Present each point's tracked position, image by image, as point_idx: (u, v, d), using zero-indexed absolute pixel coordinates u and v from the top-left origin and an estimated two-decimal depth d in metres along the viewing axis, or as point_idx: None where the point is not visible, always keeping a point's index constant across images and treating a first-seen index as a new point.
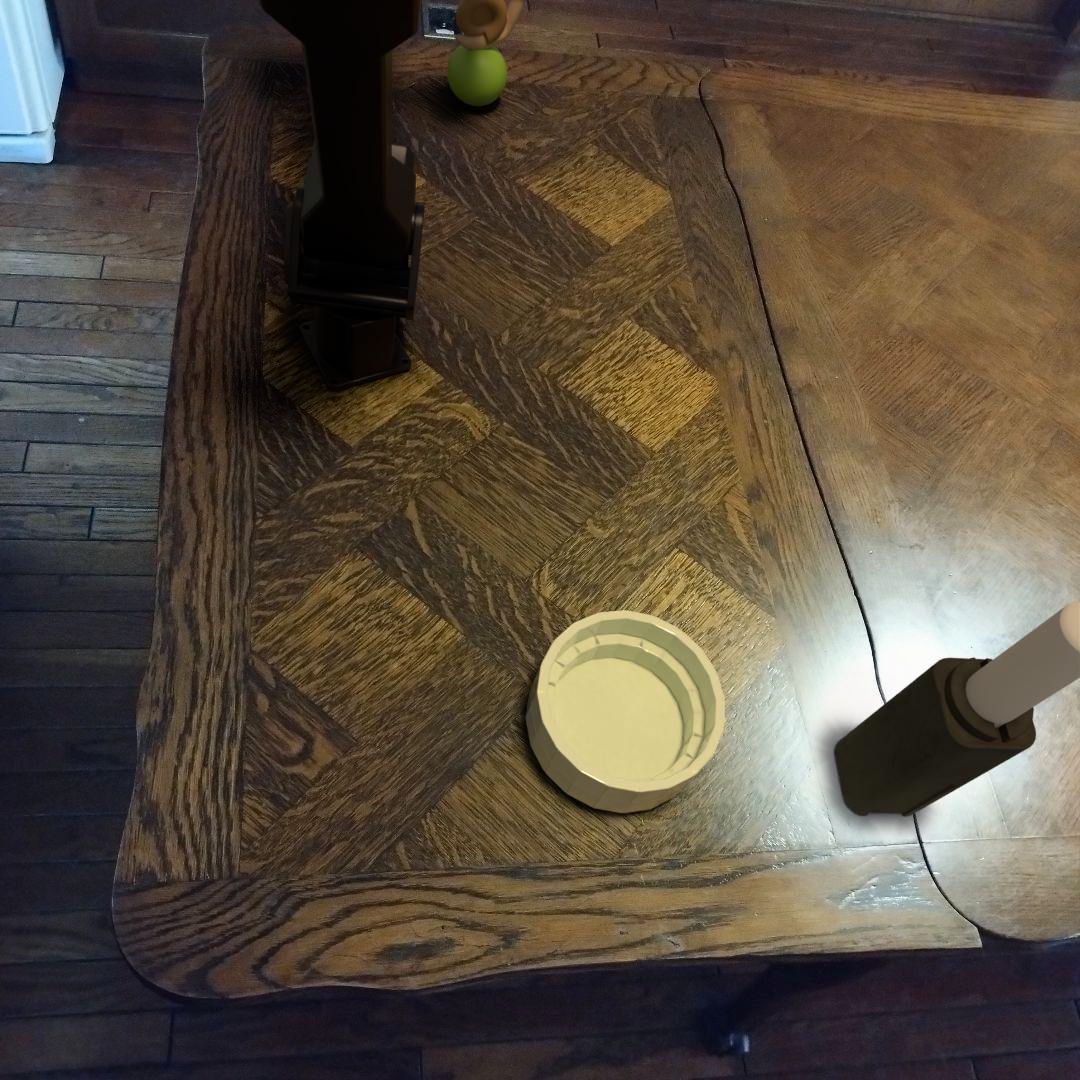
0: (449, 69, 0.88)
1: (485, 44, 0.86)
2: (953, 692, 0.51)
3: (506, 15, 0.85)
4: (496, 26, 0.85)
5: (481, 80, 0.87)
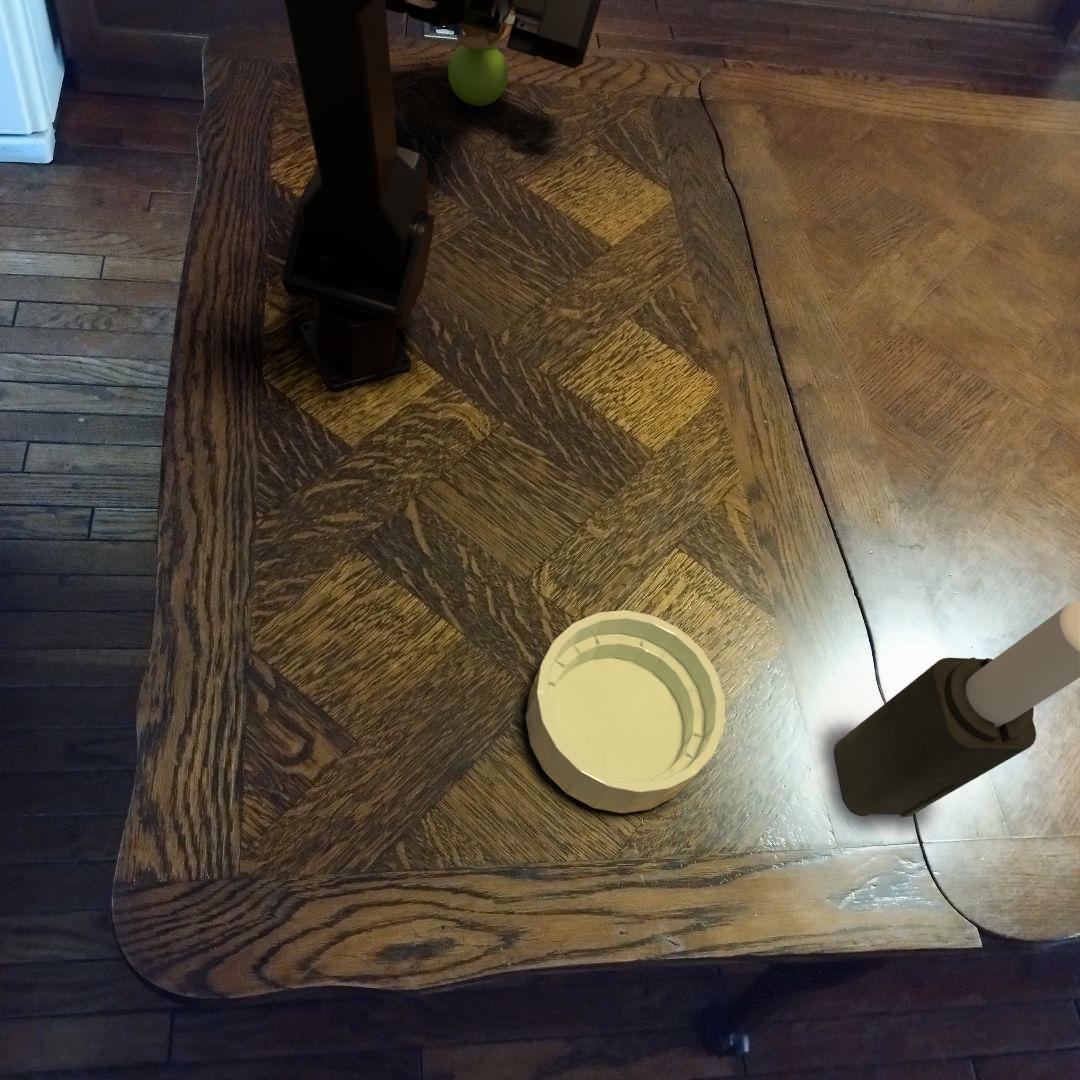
0: (450, 69, 0.88)
1: (487, 44, 0.86)
2: (953, 692, 0.51)
3: None
4: None
5: (483, 80, 0.87)
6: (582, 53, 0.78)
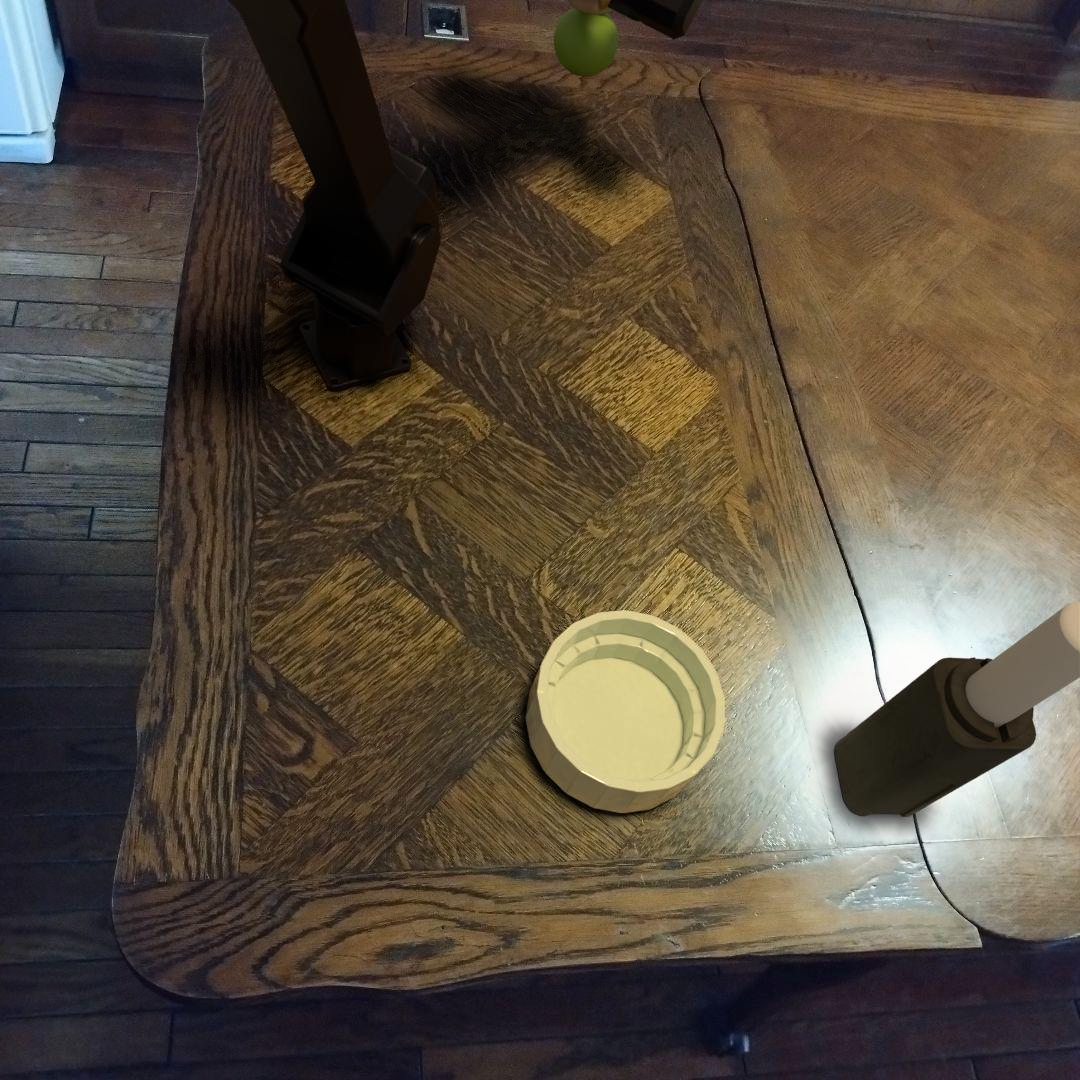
0: (556, 31, 0.82)
1: (597, 8, 0.80)
2: (953, 692, 0.51)
3: None
4: None
5: (586, 46, 0.81)
6: (682, 21, 0.71)
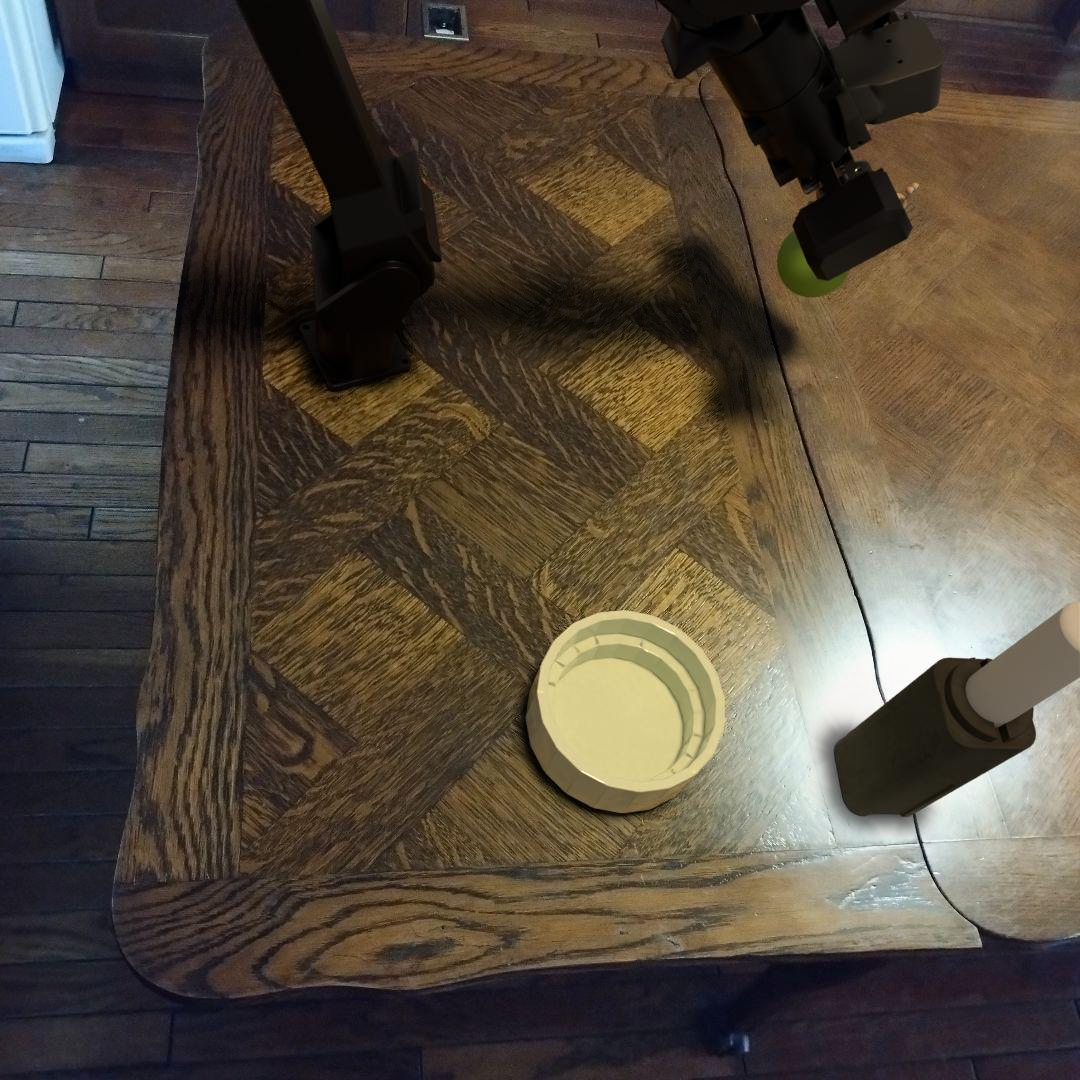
0: None
1: None
2: (953, 692, 0.51)
3: None
4: None
5: (795, 258, 0.72)
6: (820, 260, 0.60)
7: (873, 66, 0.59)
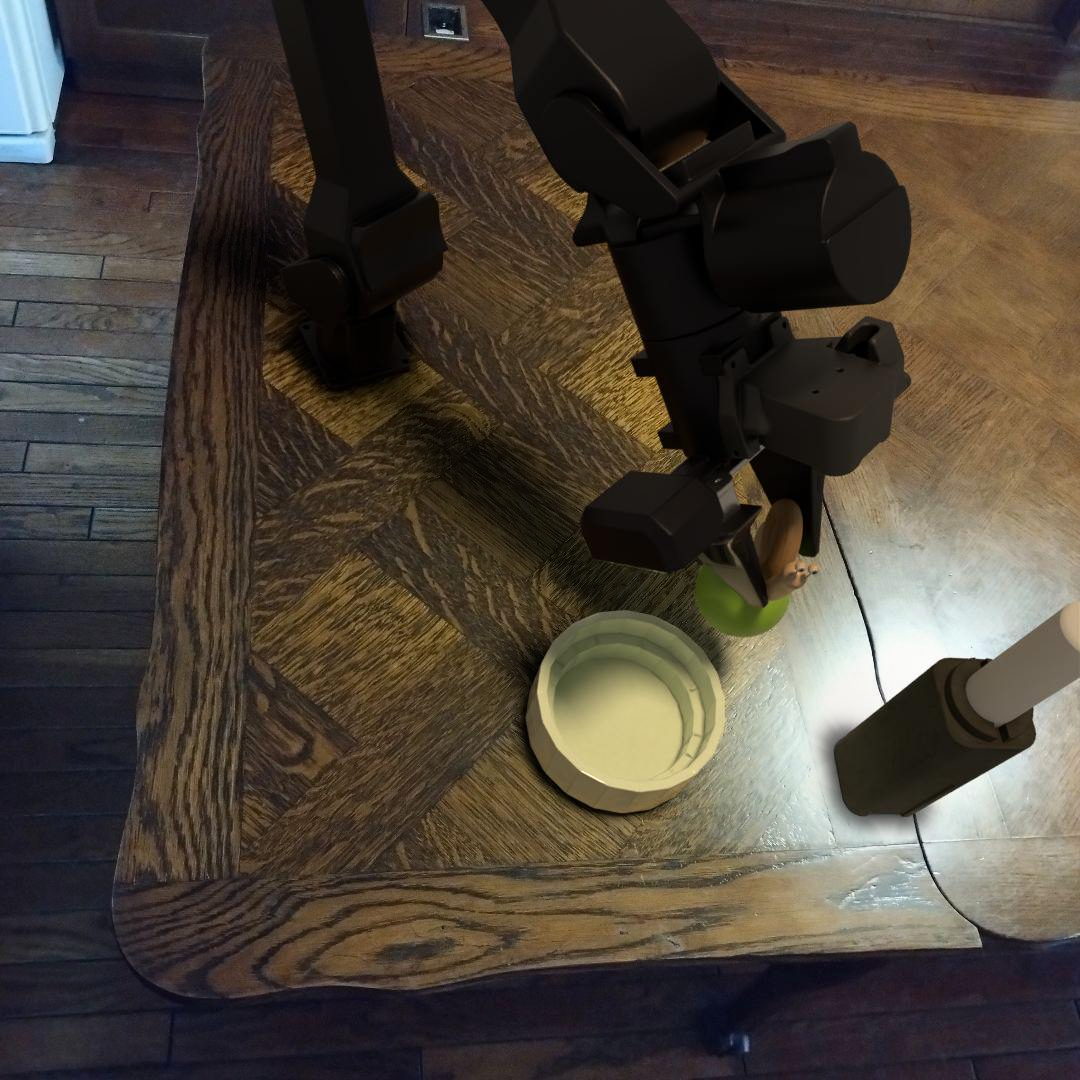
0: None
1: None
2: (953, 692, 0.51)
3: (770, 570, 0.51)
4: (761, 562, 0.53)
5: None
6: (582, 525, 0.47)
7: (790, 378, 0.44)
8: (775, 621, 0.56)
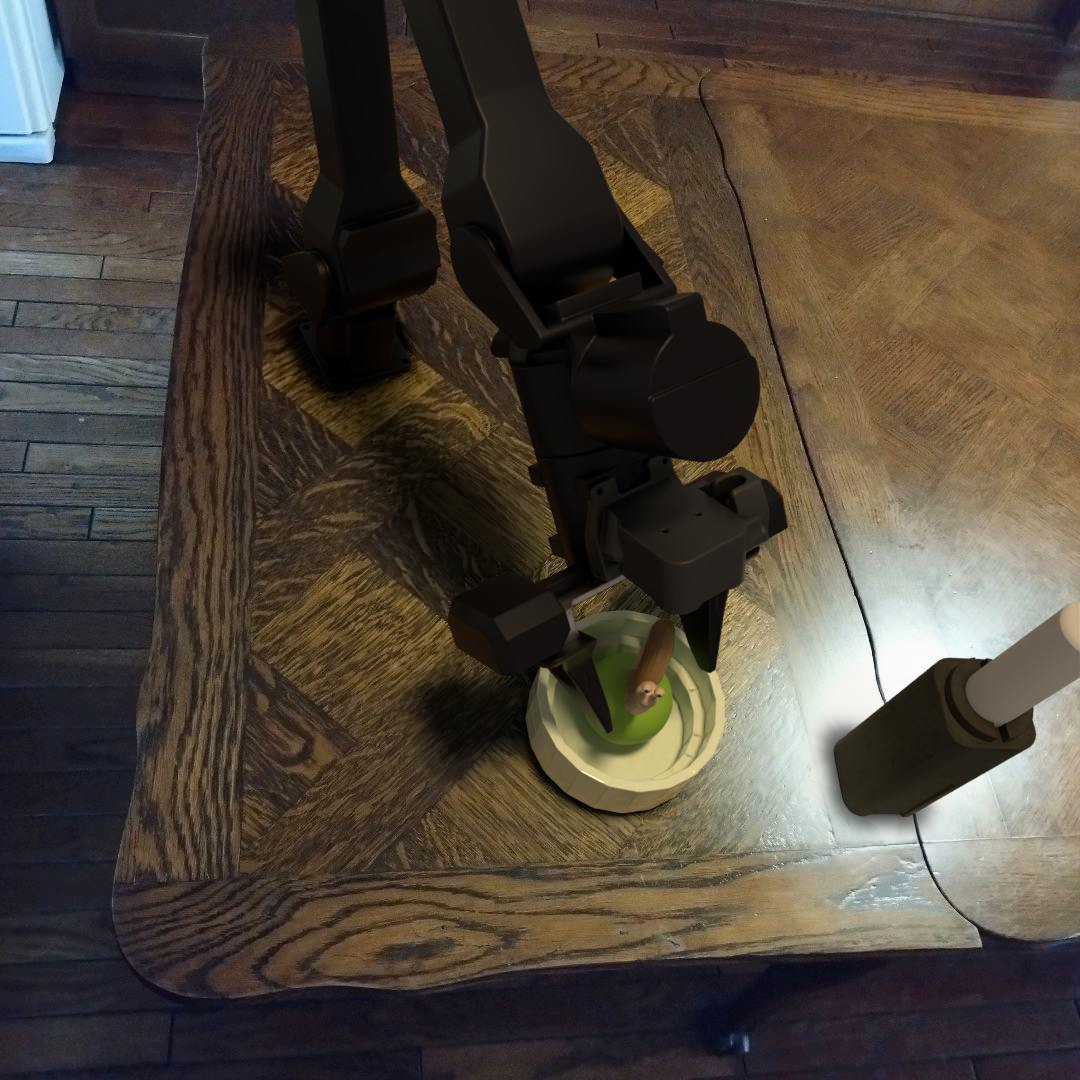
0: None
1: None
2: (953, 692, 0.51)
3: (635, 685, 0.53)
4: (632, 676, 0.54)
5: None
6: (448, 614, 0.50)
7: (649, 514, 0.46)
8: (648, 734, 0.57)
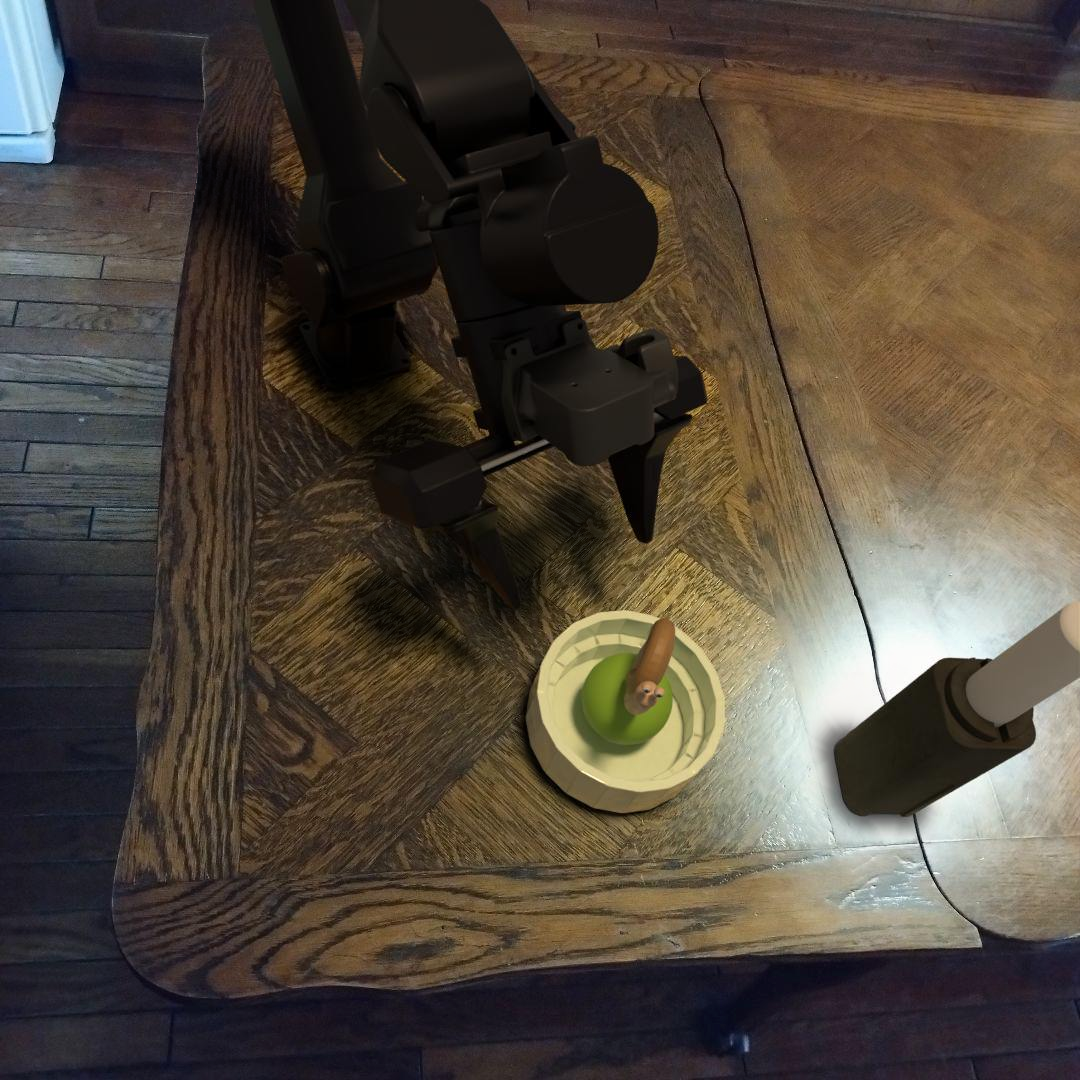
0: None
1: None
2: (953, 692, 0.51)
3: (635, 685, 0.53)
4: (632, 676, 0.54)
5: (595, 668, 0.58)
6: (372, 478, 0.51)
7: (561, 371, 0.48)
8: (648, 734, 0.57)
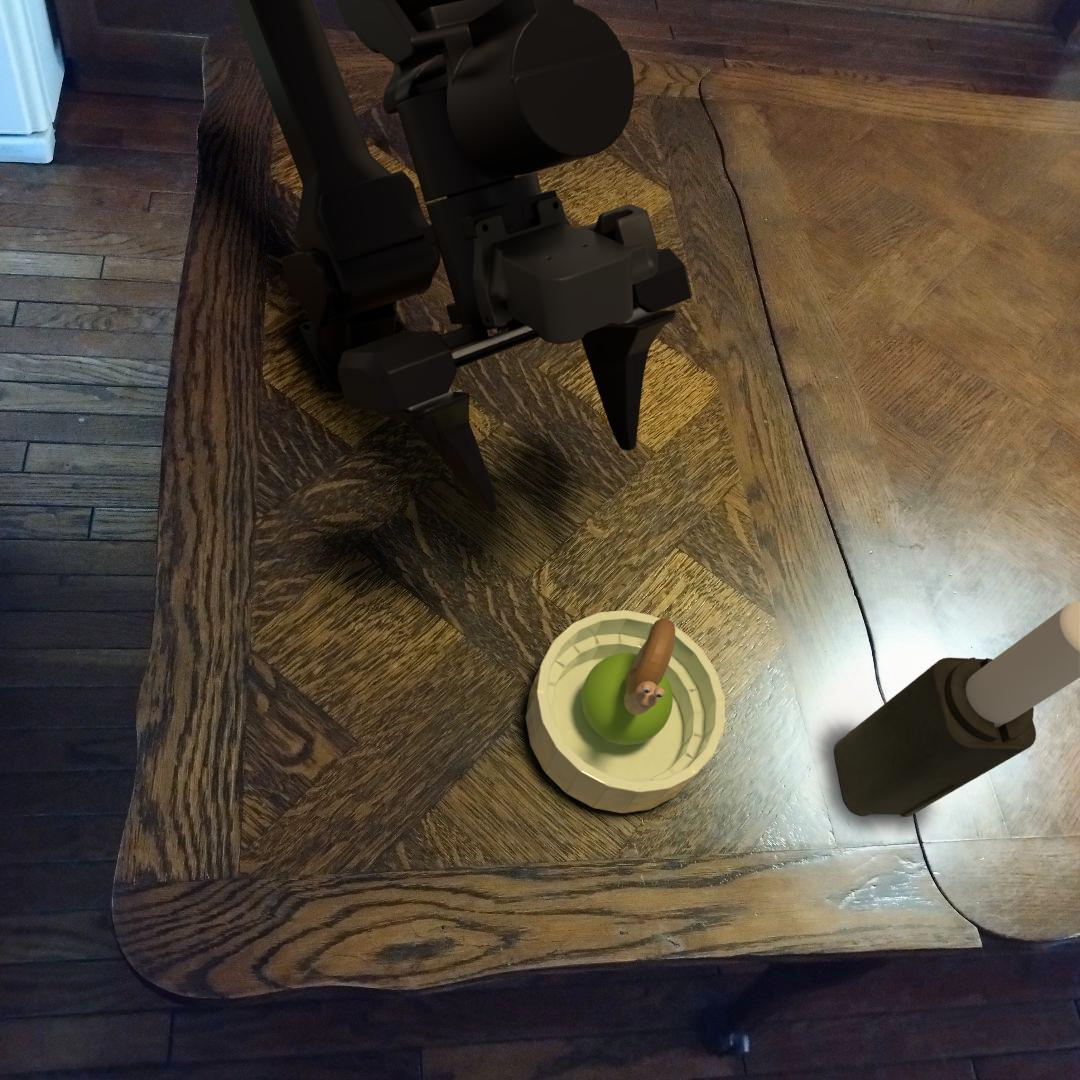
0: None
1: None
2: (953, 692, 0.51)
3: (635, 685, 0.53)
4: (632, 676, 0.54)
5: (595, 668, 0.58)
6: (338, 370, 0.49)
7: (534, 247, 0.45)
8: (648, 734, 0.57)
